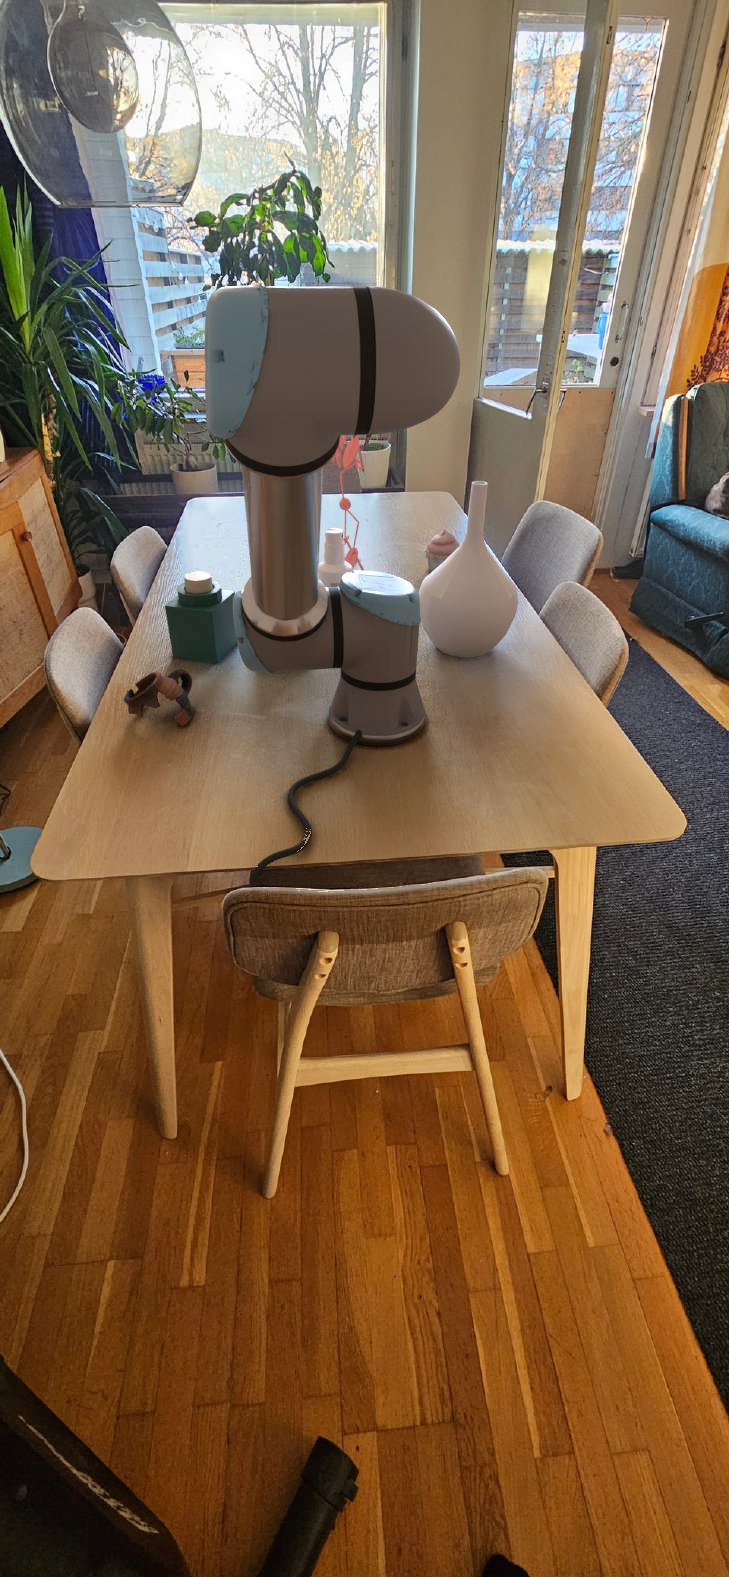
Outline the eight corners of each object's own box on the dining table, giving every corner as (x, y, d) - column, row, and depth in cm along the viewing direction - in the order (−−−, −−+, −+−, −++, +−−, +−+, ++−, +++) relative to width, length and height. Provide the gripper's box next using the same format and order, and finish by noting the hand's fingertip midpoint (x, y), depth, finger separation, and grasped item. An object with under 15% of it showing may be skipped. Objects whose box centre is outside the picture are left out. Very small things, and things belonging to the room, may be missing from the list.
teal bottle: (217, 663, 131) (209, 600, 124) (172, 657, 133) (162, 594, 126) (239, 641, 139) (233, 580, 132) (197, 635, 141) (189, 575, 133)
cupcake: (416, 567, 173) (419, 524, 167) (452, 563, 175) (456, 522, 169) (430, 580, 166) (433, 537, 160) (467, 577, 168) (472, 534, 162)
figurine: (353, 549, 183) (353, 394, 162) (376, 585, 163) (380, 414, 142) (293, 552, 180) (285, 395, 159) (309, 590, 160) (303, 416, 139)
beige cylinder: (205, 596, 126) (204, 582, 125) (181, 593, 128) (179, 579, 126) (217, 586, 130) (215, 572, 129) (193, 583, 131) (191, 569, 130)
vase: (521, 667, 131) (548, 497, 114) (421, 669, 130) (433, 498, 112) (499, 625, 146) (520, 469, 128) (409, 627, 145) (418, 469, 127)
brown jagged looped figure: (177, 739, 111) (141, 700, 107) (142, 746, 117) (107, 708, 113) (217, 689, 118) (185, 650, 113) (182, 697, 124) (151, 660, 120)
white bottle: (347, 628, 144) (347, 537, 133) (314, 625, 145) (312, 534, 134) (355, 615, 149) (355, 526, 138) (323, 612, 150) (321, 524, 139)
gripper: (259, 436, 118) (269, 576, 132) (237, 452, 108) (250, 603, 122) (304, 438, 118) (309, 578, 132) (286, 454, 107) (293, 605, 121)
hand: (280, 590), depth 127 cm, fingers closed
